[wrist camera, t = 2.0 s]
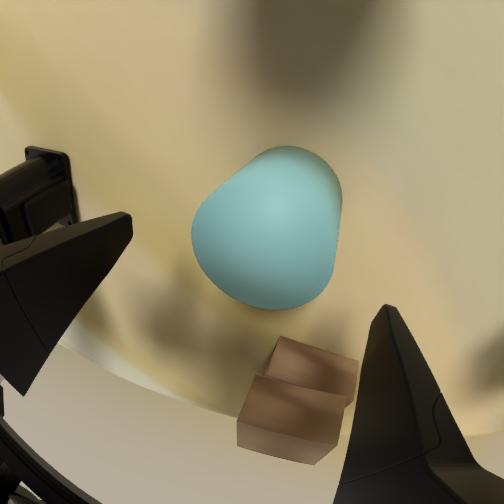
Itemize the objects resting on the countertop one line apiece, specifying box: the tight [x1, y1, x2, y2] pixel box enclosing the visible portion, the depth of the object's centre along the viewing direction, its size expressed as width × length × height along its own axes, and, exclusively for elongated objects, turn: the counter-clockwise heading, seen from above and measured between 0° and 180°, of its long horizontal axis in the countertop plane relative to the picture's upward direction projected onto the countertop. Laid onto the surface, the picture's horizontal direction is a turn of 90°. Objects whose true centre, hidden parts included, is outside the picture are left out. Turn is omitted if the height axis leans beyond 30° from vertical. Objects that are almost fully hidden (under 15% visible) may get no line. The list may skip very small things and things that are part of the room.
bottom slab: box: [262, 336, 358, 407], centre depth 19 cm, size 6×6×4 cm
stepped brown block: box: [237, 375, 346, 465], centre depth 17 cm, size 6×6×4 cm
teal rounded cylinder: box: [191, 146, 342, 310], centre depth 11 cm, size 5×5×5 cm
